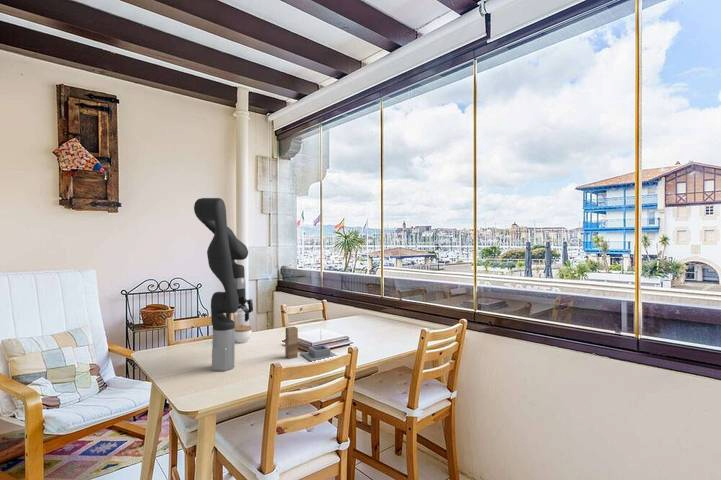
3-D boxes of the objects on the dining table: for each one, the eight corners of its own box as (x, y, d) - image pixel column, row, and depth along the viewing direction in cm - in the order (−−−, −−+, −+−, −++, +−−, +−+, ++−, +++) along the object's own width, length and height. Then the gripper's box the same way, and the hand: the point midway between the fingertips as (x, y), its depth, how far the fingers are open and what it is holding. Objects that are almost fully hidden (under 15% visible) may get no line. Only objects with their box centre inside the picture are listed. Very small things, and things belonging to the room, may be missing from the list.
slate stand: (338, 358, 186) (338, 349, 186) (311, 362, 179) (311, 353, 179) (326, 350, 198) (326, 342, 198) (300, 354, 191) (300, 346, 191)
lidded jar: (255, 339, 218) (255, 323, 218) (245, 344, 208) (245, 327, 208) (238, 338, 221) (239, 321, 221) (227, 343, 211) (227, 326, 211)
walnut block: (297, 357, 187) (297, 328, 187) (288, 359, 184) (288, 329, 184) (294, 355, 191) (294, 326, 190) (285, 356, 188) (285, 327, 188)
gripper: (218, 288, 181) (219, 322, 182) (248, 288, 180) (249, 323, 180) (226, 285, 189) (226, 318, 189) (254, 285, 187) (255, 319, 188)
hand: (237, 321), depth 185 cm, fingers open, 8 cm apart
